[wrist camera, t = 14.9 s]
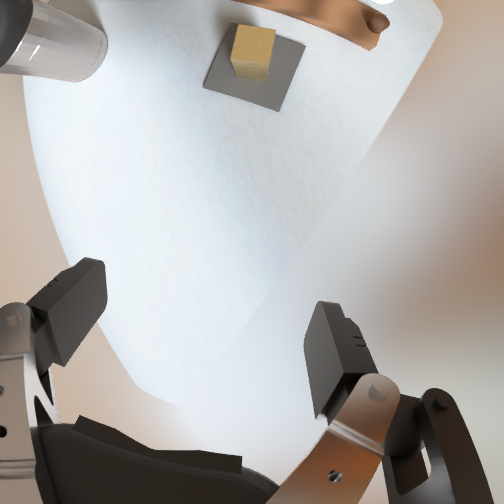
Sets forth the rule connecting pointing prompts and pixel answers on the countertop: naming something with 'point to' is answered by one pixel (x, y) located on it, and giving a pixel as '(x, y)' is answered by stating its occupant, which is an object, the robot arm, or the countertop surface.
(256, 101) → the mat
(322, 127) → the countertop surface
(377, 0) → the white cup
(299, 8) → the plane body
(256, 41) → the pale wooden block
